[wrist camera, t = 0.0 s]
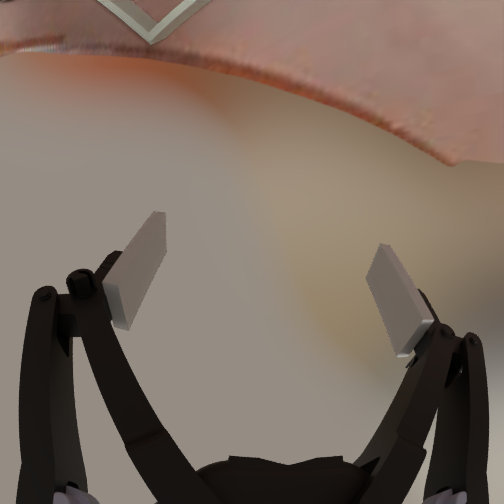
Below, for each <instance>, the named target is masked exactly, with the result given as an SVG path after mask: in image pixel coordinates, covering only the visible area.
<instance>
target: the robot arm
mask: <svg viewBox="0 0 504 504" xmlns="http://www.w3.org/2000/svg"><path fill="white" fill-rule="evenodd" d="M166 252H167V249H166V213H164V212H155V211H154V212H153V213H152V214H151V216H150V217H149V218H148V219H147V220H146V222H145V223H144V224H143V226H142V227H141V228H140V230H139V231H138V232H137V233H136V235H135V236H134V238H133V239H132V240H131V242H130V243H129V244H128V246H127V247H126V248H125V250H124V251H123V252H122V251H114V252H112V253H111V254H109V255H108V256H107V257H106V258H105V260H104V261H103V263H102V264H101V265H100V267H99V268H98V269H97V271H96V272H95V273H93V272H92V271H91V270H88V269H78V270H76V271H73V272H72V273H71V274H69V275H68V277H67V279H66V284H67V287H68V290H69V293H70V294H58V293H57V291H56V289H55V288H54V287H52V286H44V287H41V288H39V289H38V290H37V291H36V292H35V293H34V295H33V297H32V302H31V306H30V311H29V316H28V321H27V326H26V332H25V339H24V345H23V353H22V362H21V372H20V386H19V438H20V451H21V461H22V464H21V469H20V475H19V481H18V489H17V497H16V504H99V502H98V501H97V500H96V499H95V498H94V497H93V496H92V495H90V494H88V488H87V478H86V473H85V467H84V462H83V457H82V452H81V446H80V441H79V434H78V427H77V419H76V409H75V398H74V384H73V337H81V338H82V341H83V344H84V347H85V351H86V353H87V357H88V360H89V362H90V365H91V368H92V371H93V374H94V377H95V379H96V382H97V384H98V387H99V389H100V392H101V394H102V397H103V399H104V401H105V404H106V406H107V408H108V411H109V413H110V415H111V417H112V419H113V422H114V423H115V426H116V428H117V430H118V432H119V434H120V435H121V438H122V440H123V442H124V444H125V448H126V451H127V453H128V455H129V457H130V458H131V460H132V462H133V464H134V465H135V467H136V469H137V470H138V472H139V474H140V475H141V477H142V479H143V480H144V482H145V483H146V485H147V486H148V488H149V489H150V491H151V492H152V494H153V495H154V497H155V498H156V500H157V501H158V502H156V503H155V504H402V502H403V501H404V499H405V497H406V495H407V493H408V492H409V490H410V488H411V486H412V484H413V482H414V480H415V478H416V476H417V474H418V472H419V470H420V468H421V466H422V463H423V461H424V459H425V457H426V453H427V452H426V450H425V449H424V448H423V445H424V442H425V440H426V438H427V435H428V432H429V430H430V428H431V425H432V422H433V419H434V416H435V414H436V411H437V408H438V412H437V422H436V430H435V437H434V444H433V450H432V455H431V460H430V466H429V470H428V475H427V479H426V484H425V489H424V498H423V503H422V504H489V494H488V483H487V474H486V471H487V461H488V447H489V445H488V444H489V402H488V387H487V376H486V368H485V360H484V354H483V347H482V343H481V340H480V339H479V337H478V336H477V335H476V334H474V333H471V332H469V333H467V334H466V335H465V336H464V338H460V337H457V336H455V333H454V331H453V330H452V329H451V328H450V327H449V326H448V325H446V324H442V323H440V321H439V319H438V317H437V315H436V313H435V312H434V310H433V308H431V304H430V303H429V301H428V299H427V297H426V296H425V294H424V293H422V292H421V291H420V289H417V288H416V286H415V284H414V283H413V281H412V279H411V278H410V276H409V274H408V273H407V271H406V269H405V268H404V266H403V265H402V263H401V261H400V260H399V258H398V257H397V255H396V254H395V252H394V251H393V249H392V248H391V246H390V245H386V244H380V245H379V247H378V250H377V253H376V255H375V257H374V259H373V262H372V264H371V267H370V269H369V271H368V274H367V276H366V280H367V283H368V285H369V287H370V289H371V292H372V294H373V297H374V299H375V302H376V304H377V307H378V309H379V312H380V314H381V316H382V319H383V322H384V324H385V327H386V329H387V332H388V335H389V337H390V340H391V343H392V345H393V348H394V351H395V354H396V357H407V356H408V355H409V354H410V353H411V352H412V350H413V349H414V351H415V353H416V355H415V356H414V357H413V359H412V360H411V361H410V362H409V363H408V365H407V366H406V368H408V366H409V368H408V370H407V372H406V374H405V377H404V379H403V381H402V384H401V385H400V387H399V390H398V391H397V394H396V396H395V398H394V399H393V401H392V403H391V405H390V407H389V409H388V411H387V413H386V415H385V416H384V418H383V420H382V422H381V424H380V426H379V427H378V429H377V430H376V432H375V434H374V436H373V437H372V439H371V440H370V442H369V444H368V445H367V447H366V448H365V450H364V452H363V453H362V454H361V456H360V457H359V458H358V459H357V460H356V461H355V462H354V463H353V464H351V463H348V462H344V461H343V456H333V457H320V458H314V459H311V460H307V461H304V462H300V463H296V464H292V465H285V464H281V463H276V462H272V461H269V460H265V459H261V458H252V457H238V456H229V458H228V460H226V461H220V462H216V463H212V464H209V465H207V466H205V467H202V468H200V469H199V470H197V471H195V470H194V469H193V467H192V466H191V464H190V463H189V462H188V460H187V459H186V458H185V456H184V455H183V453H182V452H181V451H180V449H179V448H178V446H177V445H176V443H175V442H174V440H173V439H172V437H171V436H170V434H169V433H168V431H167V430H166V429H165V428H164V427H163V425H162V424H161V422H160V421H159V419H158V417H157V415H156V414H155V412H154V410H153V409H152V407H151V405H150V403H149V402H148V400H147V398H146V396H145V394H144V393H143V391H142V389H141V387H140V385H139V383H138V381H137V380H136V377H135V375H134V373H133V372H132V369H131V367H130V366H129V363H128V361H127V359H126V357H125V355H124V353H123V351H122V349H121V347H120V344H119V342H118V339H117V337H116V335H115V332H114V330H113V328H112V325H111V323H110V322H111V320H113V324H114V327H116V328H120V329H124V330H129V329H130V327H131V325H132V323H133V320H134V318H135V316H136V314H137V312H138V309H139V307H140V305H141V303H142V301H143V299H144V297H145V295H146V292H147V290H148V288H149V286H150V284H151V282H152V280H153V278H154V276H155V274H156V272H157V270H158V268H159V266H160V264H161V262H162V260H163V258H164V256H165V254H166ZM461 371H462V373H461Z"/></svg>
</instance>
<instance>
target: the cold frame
mask: <svg viewBox="0 0 504 504" xmlns="http://www.w3.org/2000/svg"><path fill="white" fill-rule="evenodd" d="M98 1H99V2H100V3H102V4H103V5H104V6H105V7H107V8H108V9H109V10H111V11H112V12H113V13H114V14H115V15H117V16H118V17H119V18H120V19H122V20H123V21H124V22H125V23H126V24H127V25H129V26H130V27H131V28H132V29H133V30H135V31H136V32H137V33H138V34H139V35H140V36H141V37H143V38H144V39H145V40H146V41H147V42H148V43H149V44H150V45H152V44H154V43H156V42H159V41H161V40H164V39H166V38H167V37H168V36H169V35H170V34H171V33H172V32H173V31H174V30H175V29H177V28H178V27H179V26H180V25H181V24H182V23H184V22H185V21H186V20H187V19H188V18H190V17H191V16H192V15H193V14H194V13H196V12H197V11H198V10H200V9H201V8H202V7H203V6H205V5H206V4H207V3H209V2H210V1H211V0H184V1H183V2H182V3H180V4H179V5H178V6H177V7H176V8H175V9H173V10H172V11H171V12H170V13H169V14H168V15H167V16H166V17H164V18H163V19H162V20H161V21H160V22H159V23H157V22H156V21H155V20H154V19H153V18H151V17H150V16H149V15H148V14H147V13H146V12H144V11H143V10H142V9H141V8H140V7H138V6H137V5H136V4H135V3H133V2H132V1H131V0H98Z"/></svg>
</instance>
